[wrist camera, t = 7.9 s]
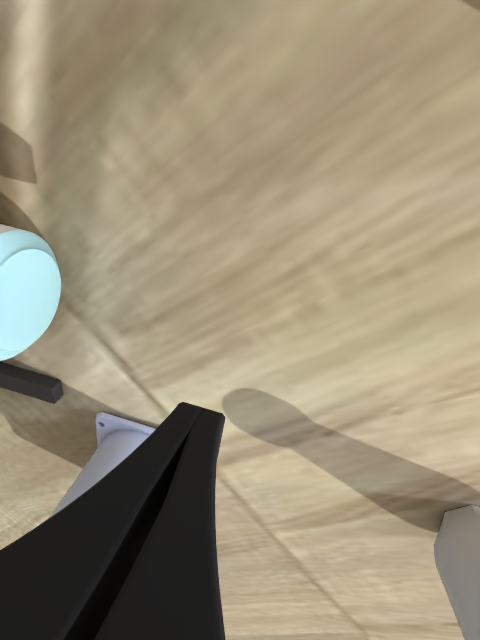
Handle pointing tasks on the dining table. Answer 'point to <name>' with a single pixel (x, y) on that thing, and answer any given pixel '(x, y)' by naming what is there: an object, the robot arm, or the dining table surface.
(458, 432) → the dining table surface
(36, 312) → the can
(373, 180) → the dining table surface
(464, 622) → the salt shaker
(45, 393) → the spatula
